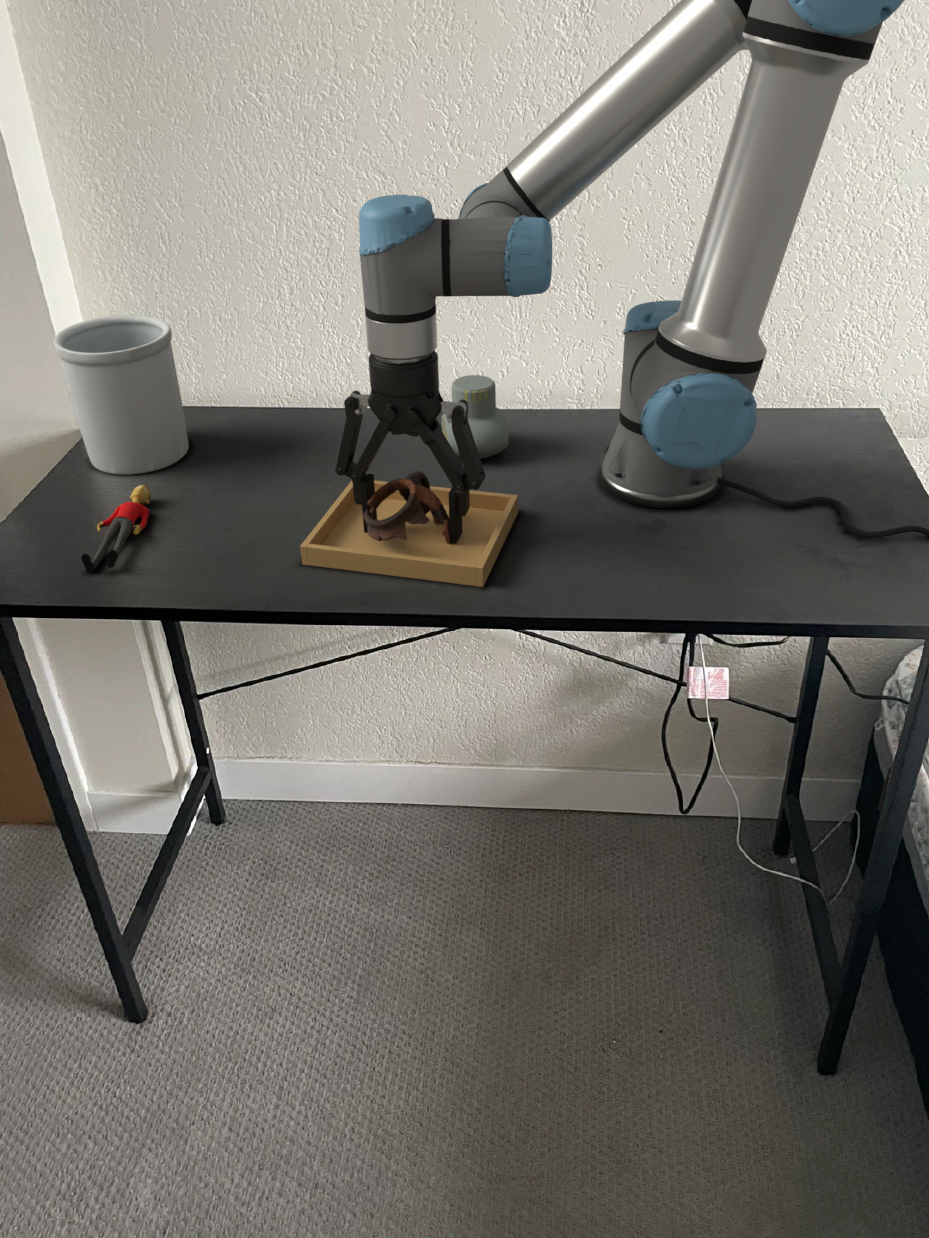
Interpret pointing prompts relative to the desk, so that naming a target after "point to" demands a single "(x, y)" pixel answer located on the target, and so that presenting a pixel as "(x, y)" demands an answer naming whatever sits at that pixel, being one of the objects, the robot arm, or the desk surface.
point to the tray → (413, 539)
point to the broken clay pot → (406, 508)
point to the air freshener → (479, 415)
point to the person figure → (121, 527)
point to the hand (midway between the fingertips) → (413, 532)
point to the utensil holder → (125, 392)
